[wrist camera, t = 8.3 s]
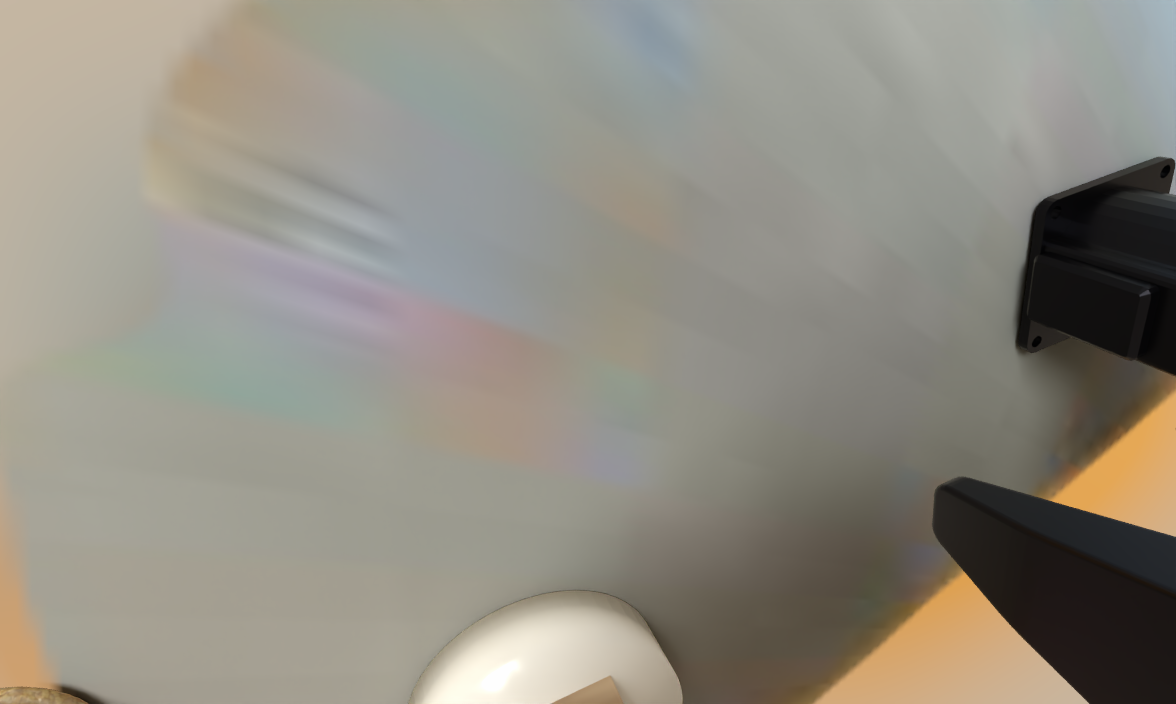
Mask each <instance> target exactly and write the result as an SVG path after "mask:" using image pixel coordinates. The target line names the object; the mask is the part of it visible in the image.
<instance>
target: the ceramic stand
mask: <svg viewBox="0 0 1176 704" xmlns="http://www.w3.org/2000/svg"><path fill="white" fill-rule="evenodd" d="M608 676H611V678H612V680H613V682H614V684H615V686H616V688H617V690H618V692H619V695H620V697H621V699H622V701H623V703H624V704H682V702H683V698H682V689H681V685H680V682H679V679H678V677H677V675H676V673H675V672H674V670H673V668H672V666H671V665H670V663H669V661H668V659H667V658H666V656H665V654H664V652H663V651H662V649H661V647H660V645H659V644H658V642H657V640H656V639H655V637H654V635H653V633H652V632H651V630H650V628H649V626H648V625H647V623H646V621H645V620H644V618H643V617H642V616H641V615H640V614H639V612H638V611H637V610H636V609H634V608H633V607H632V606H630V605H629V604H628V603H626V602H624V601H622V600H620V599H618V598H616V597H613V596H610V595H607V594H604V593H598V592H593V591H578V590H572V591H558V592H552V593H547V594H541V595H537V596H534V597H530V598H527V599H523V600H521V601H518V602H515V603H513V604H510V605H508V606H505V607H503V608H501V609H499V610H497V611H495V612H493V613H491V614H489V615H487V616H485V617H484V618H482V619H481V620H479V621H477V622H476V623H474V624H472V625H471V626H470V627H468V628H467V629H466V630H464V631H463V632H462V633H460V634H459V635H458V636H456V637H455V638H454V639H453V640H452V641H451V642H450V643H449V644H447V645H446V646H445V647H444V648H443V649H442V650H441V651H440V652H439V653H438V655H437V656H436V657H435V658H434V659H433V660H432V661H431V662H430V664H429V665H428V667H427V668H426V669H425V671H424V672H423V674H422V675H421V677H420V678H419V680H418V682H417V684H416V686H415V688H414V689H413V692H412V695H411V697H410V700H409V703H408V704H551V703H553V702H555V701H557V700H559V699H561V698H564V697H566V696H568V695H570V694H572V693H574V692H576V691H578V690H580V689H582V688H585V687H587V686H589V685H591V684H593V683H595V682H597V681H599V680H601V679H603V678H606V677H608Z"/></svg>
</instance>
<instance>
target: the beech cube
mask: <svg viewBox="0 0 1176 704" xmlns="http://www.w3.org/2000/svg"><path fill="white" fill-rule="evenodd" d="M551 704H624V703H623V701H622V699H621V697H620V695H619V692H618V690H617V688H616V686H615V684H614V682H613V680H612V678H611V676H608V677H606V678H603V679H601V680H599V681H597V682H595V683H593V684H591V685H589V686H587V687H585V688H582V689H580V690H578V691H576V692H574V693H572V694H570V695H568V696H566V697H564V698H561V699H559V700H557V701H555V702H553V703H551Z"/></svg>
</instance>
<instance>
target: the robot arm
mask: <svg viewBox="0 0 1176 704" xmlns="http://www.w3.org/2000/svg"><path fill="white" fill-rule="evenodd" d="M1174 170H1175V161H1174V160H1173V159H1172V158H1166V157H1156V158H1153V159H1150V160H1148V161H1145V162H1142V163H1140V164H1137V165H1134V166H1131V167H1129V168H1126V169H1123V170H1120V171H1118V172H1115V173H1112V174H1110V175H1107V176H1104V177H1101V178H1099V179H1096V180H1093V181H1090V182H1088V183H1085V184H1082V185H1080V186H1077V187H1074V188H1071V189H1069V190H1066V191H1063V192H1060V193H1058V194H1055V195H1052V196H1050V197H1047V198H1046V199H1044V200H1043V201H1042V202H1041V203H1040V205H1039V206H1038V208H1037V211H1036V215H1035V223H1034V230H1033V238H1032V245H1031V253H1030V260H1029V268H1028V275H1027V282H1026V290H1025V297H1024V305H1023V312H1022V320H1021V327H1020V334H1019V347H1020V348H1021V349H1023V350H1026V351H1028V352H1030V353H1034V352H1037V351H1039V350H1041V349H1044V348H1046V347H1048V346H1051V345H1053V344H1055V343H1058V342H1060V341H1062V340H1065V339H1067V338H1069V337H1072V338H1075V339H1077V340H1080V341H1082V342H1085V343H1087V344H1089V345H1092V346H1094V347H1097V348H1099V349H1102V350H1104V351H1107V352H1109V353H1111V354H1114V355H1116V356H1119V357H1121V358H1124V359H1126V360H1131V361H1132V360H1136V361H1139V362H1141V363H1144V364H1146V365H1149V366H1151V367H1154V368H1156V369H1158V370H1161V371H1163V372H1166V373H1168V374H1171V375H1173V376H1176V195H1173V194H1169V191H1170V187H1171V183H1172V178H1173V174H1174ZM932 527H933V531H934V534H935V536H936V538H937V539H938V541H939V542H940V544H941V545H942V546H943V547H944V548H945V549H946V551H947V552H948V553H949V554H950V555H951V557H952V558H953V559H954V560H955V561H956V562H957V564H958V565H959V566H960V567H961V568H962V570H963V571H964V572H965V573H966V574H967V575H968V576H969V578H970V579H971V580H972V581H973V582H974V584H975V585H976V586H977V587H978V588H979V589H980V591H981V592H982V593H983V594H984V595H985V597H986V598H987V599H988V600H989V601H990V602H991V604H992V605H993V606H994V607H995V608H996V609H997V611H998V612H999V613H1000V614H1001V615H1002V616H1003V618H1005V620H1006V621H1007V622H1008V623H1009V624H1010V625H1011V626H1012V627H1013V628H1014V629H1015V630H1016V631H1017V633H1018V634H1019V635H1020V636H1021V637H1022V638H1023V639H1024V640H1025V641H1026V642H1027V643H1028V644H1029V645H1031V647H1032V648H1033V649H1034V650H1035V651H1036V652H1037V653H1038V654H1039V655H1041V657H1043V658H1044V659H1045V660H1046V661H1047V662H1048V663H1049V664H1050V665H1051V666H1052V667H1053V668H1054V669H1055V670H1056V671H1057V672H1058V673H1059V674H1060V675H1061V676H1062V677H1063V678H1064V679H1065V680H1066V681H1067V682H1068V683H1069V684H1070V685H1071V686H1072V687H1073V688H1074V689H1075V690H1076V691H1077V692H1078V693H1079V694H1080V695H1081V696H1082V697H1083V698H1084V699H1085V700H1086V701H1087V702H1088V703H1089V704H1176V537H1174V536H1171V535H1167V534H1164V533H1160V532H1156V531H1153V530H1149V529H1146V528H1142V527H1139V526H1135V525H1132V524H1129V523H1125V522H1122V521H1118V520H1115V519H1111V518H1108V517H1104V516H1100V515H1097V514H1094V513H1090V512H1087V511H1083V510H1080V509H1076V508H1073V507H1069V506H1066V505H1062V504H1059V503H1055V502H1052V501H1048V500H1045V499H1041V498H1038V497H1034V496H1031V495H1027V494H1024V493H1020V492H1017V491H1013V490H1010V489H1007V488H1003V487H1000V486H996V485H993V484H989V483H986V482H982V481H979V480H975V479H972V478H968V477H957V478H954V479H952V480H950V481H948V482H945V483H943V484H941V485H939V486H938V487H937V489H936V490H935V494H934V508H933V521H932Z"/></svg>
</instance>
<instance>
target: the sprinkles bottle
mask: <svg viewBox="0 0 1176 704" xmlns="http://www.w3.org/2000/svg"><path fill="white" fill-rule="evenodd" d="M0 704H88V703H87V702H85V701H83V700H81V699H80V698H78V697H74V696H72V695H70V694H66V693H61V692H59V691H56V690H51V689H45V688H30V687H8V688H0Z"/></svg>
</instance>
